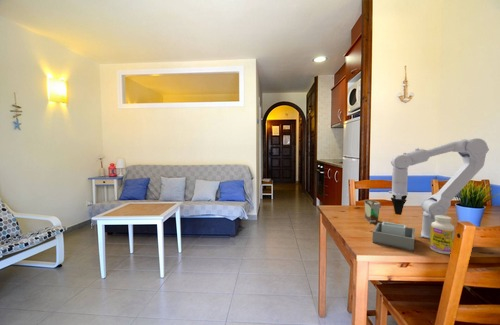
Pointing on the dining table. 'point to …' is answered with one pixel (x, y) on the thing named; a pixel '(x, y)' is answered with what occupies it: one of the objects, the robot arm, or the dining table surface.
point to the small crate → (393, 229)
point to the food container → (372, 211)
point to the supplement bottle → (441, 234)
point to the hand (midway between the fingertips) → (398, 212)
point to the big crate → (394, 238)
